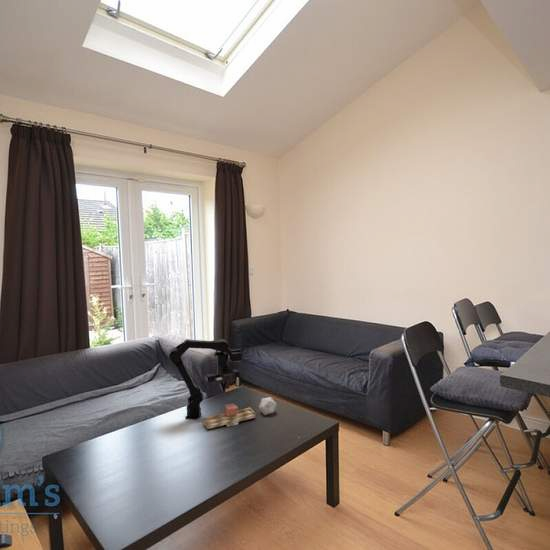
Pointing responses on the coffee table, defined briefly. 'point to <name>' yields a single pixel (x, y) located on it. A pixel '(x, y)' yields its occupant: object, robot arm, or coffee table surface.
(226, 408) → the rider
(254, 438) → the coffee table surface
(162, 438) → the coffee table surface
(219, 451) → the coffee table surface
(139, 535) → the coffee table surface
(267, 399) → the die
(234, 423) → the beam
